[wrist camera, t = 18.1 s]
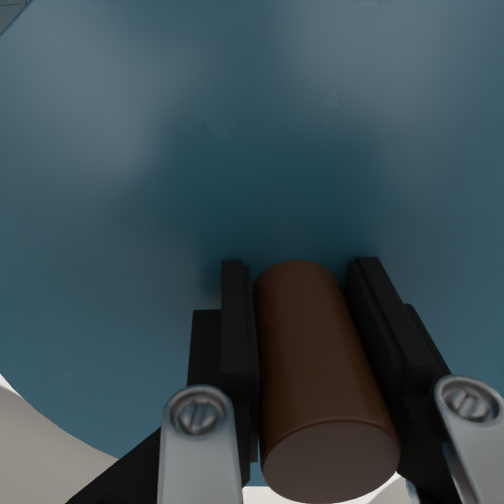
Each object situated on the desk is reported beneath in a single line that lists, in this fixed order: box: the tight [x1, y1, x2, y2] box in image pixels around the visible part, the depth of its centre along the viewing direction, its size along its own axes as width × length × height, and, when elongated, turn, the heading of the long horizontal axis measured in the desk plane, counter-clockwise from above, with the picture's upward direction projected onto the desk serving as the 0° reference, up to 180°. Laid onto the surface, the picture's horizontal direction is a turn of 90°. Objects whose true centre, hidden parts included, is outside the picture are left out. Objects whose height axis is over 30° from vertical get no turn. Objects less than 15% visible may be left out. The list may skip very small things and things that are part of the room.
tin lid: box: [0, 0, 504, 504], centre depth 11 cm, size 18×18×6 cm
